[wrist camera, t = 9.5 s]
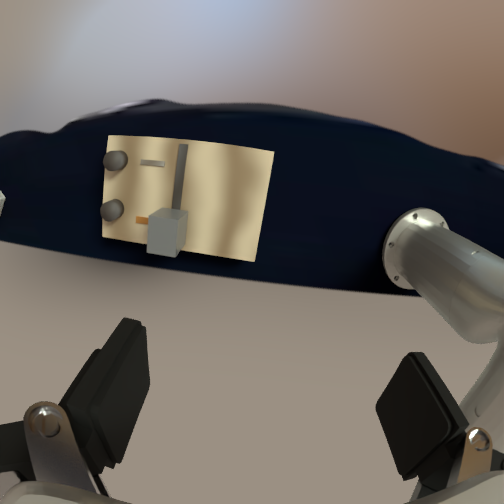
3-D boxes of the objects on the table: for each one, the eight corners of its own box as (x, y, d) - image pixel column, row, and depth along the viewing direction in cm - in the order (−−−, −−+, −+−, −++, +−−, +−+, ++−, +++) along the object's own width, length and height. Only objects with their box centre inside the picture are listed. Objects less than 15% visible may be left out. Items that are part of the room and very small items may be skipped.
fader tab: (188, 211, 31) (178, 219, 27) (185, 244, 32) (175, 257, 28) (162, 207, 31) (148, 215, 27) (159, 240, 32) (146, 252, 28)
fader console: (272, 152, 33) (275, 151, 27) (254, 250, 37) (254, 268, 32) (122, 136, 32) (100, 135, 26) (115, 228, 36) (95, 241, 31)
